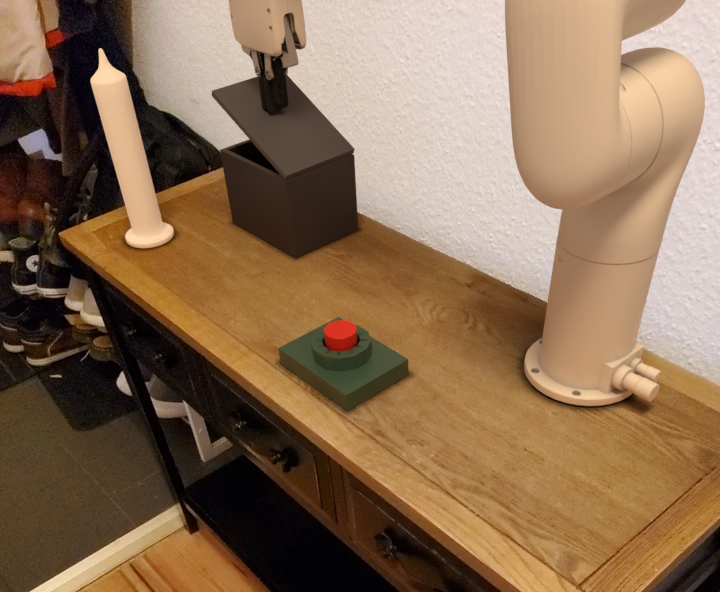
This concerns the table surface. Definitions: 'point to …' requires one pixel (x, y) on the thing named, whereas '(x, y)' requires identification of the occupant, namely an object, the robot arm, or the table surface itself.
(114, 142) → the candle
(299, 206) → the open storage bin
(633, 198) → the robot arm
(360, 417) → the table surface
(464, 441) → the table surface
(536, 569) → the table surface
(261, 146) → the lid
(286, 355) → the control block
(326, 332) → the red button
